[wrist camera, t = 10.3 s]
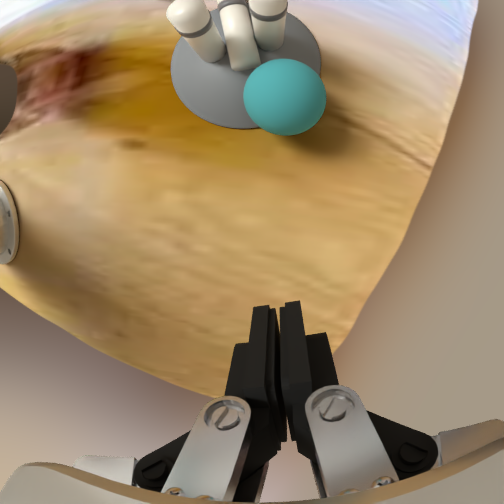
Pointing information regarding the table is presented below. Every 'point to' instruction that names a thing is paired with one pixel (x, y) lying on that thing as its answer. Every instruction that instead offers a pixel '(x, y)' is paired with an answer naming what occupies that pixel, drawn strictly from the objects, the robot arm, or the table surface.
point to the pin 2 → (268, 22)
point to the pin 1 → (197, 28)
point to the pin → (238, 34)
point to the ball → (284, 97)
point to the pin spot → (233, 74)
